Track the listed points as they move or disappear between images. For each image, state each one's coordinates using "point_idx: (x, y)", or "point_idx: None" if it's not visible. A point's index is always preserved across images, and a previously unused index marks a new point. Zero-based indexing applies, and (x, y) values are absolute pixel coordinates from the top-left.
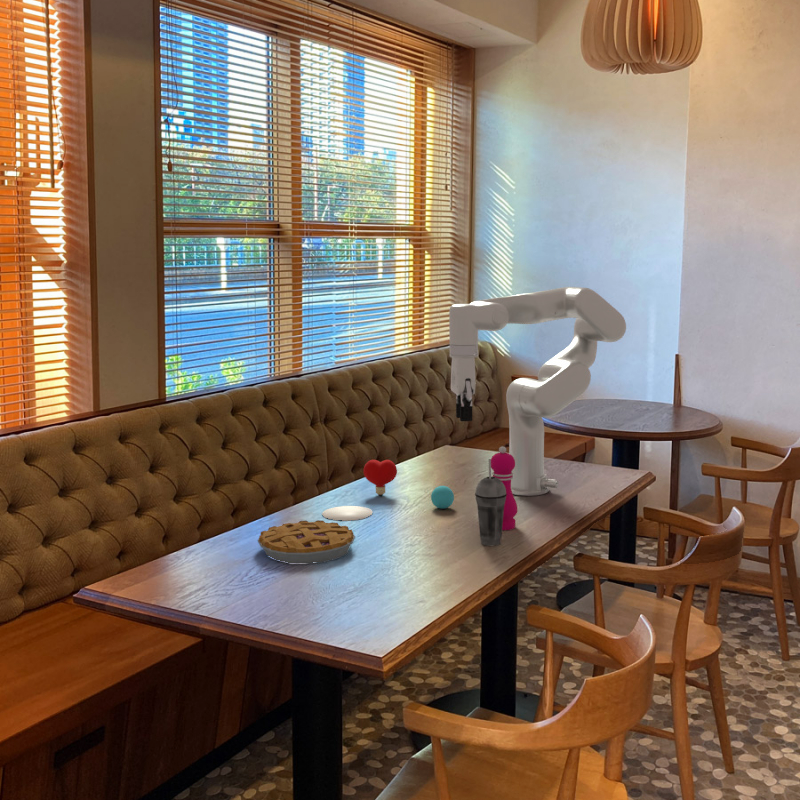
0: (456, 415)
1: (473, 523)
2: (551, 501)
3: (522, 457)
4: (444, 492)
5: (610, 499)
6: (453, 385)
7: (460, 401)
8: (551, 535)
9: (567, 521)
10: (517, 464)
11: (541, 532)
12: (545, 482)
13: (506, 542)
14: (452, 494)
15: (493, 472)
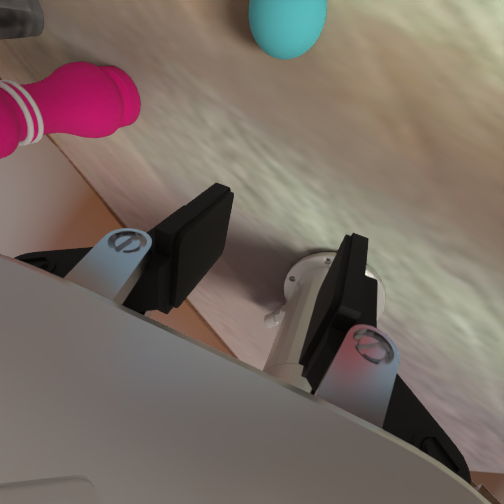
0: (352, 238)
1: (148, 42)
2: (242, 275)
3: (287, 324)
4: (250, 4)
5: (219, 338)
6: (98, 499)
7: (323, 348)
8: (69, 152)
9: (132, 220)
10: (304, 306)
11: (84, 146)
12: (281, 313)
13: (33, 49)
14: (257, 43)
15: (6, 90)
